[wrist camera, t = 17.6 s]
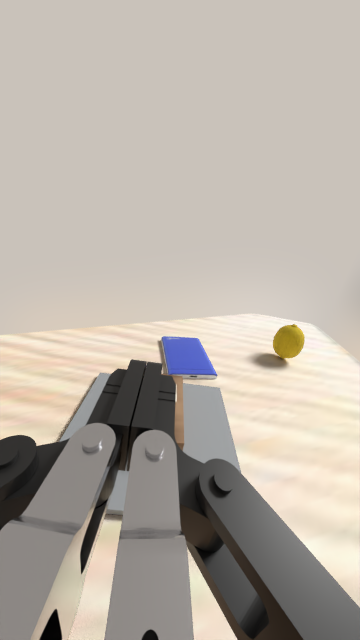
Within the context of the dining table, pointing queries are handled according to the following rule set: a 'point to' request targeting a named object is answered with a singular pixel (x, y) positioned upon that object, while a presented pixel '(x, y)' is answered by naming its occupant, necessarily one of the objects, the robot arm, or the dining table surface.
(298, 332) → the lemon
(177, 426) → the brown cardboard box
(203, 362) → the hard drive
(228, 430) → the grey mat
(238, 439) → the dining table surface
